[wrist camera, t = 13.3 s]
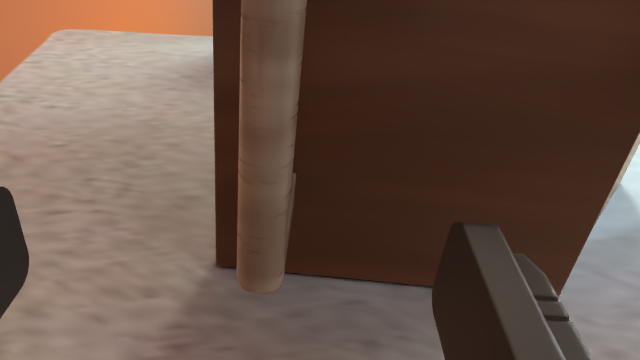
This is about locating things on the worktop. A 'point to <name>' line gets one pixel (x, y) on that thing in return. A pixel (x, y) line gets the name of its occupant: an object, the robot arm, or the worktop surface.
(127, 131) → the worktop surface
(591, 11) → the shelf door
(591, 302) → the worktop surface
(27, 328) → the worktop surface
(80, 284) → the worktop surface
